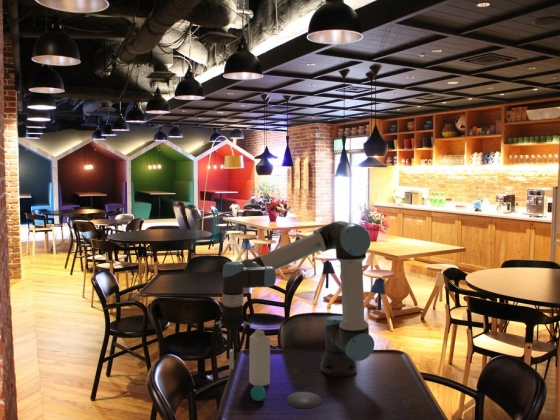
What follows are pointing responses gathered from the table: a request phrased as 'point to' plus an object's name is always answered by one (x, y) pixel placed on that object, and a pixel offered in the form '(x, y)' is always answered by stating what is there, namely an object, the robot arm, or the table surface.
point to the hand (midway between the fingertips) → (231, 367)
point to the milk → (259, 359)
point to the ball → (258, 393)
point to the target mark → (303, 400)
